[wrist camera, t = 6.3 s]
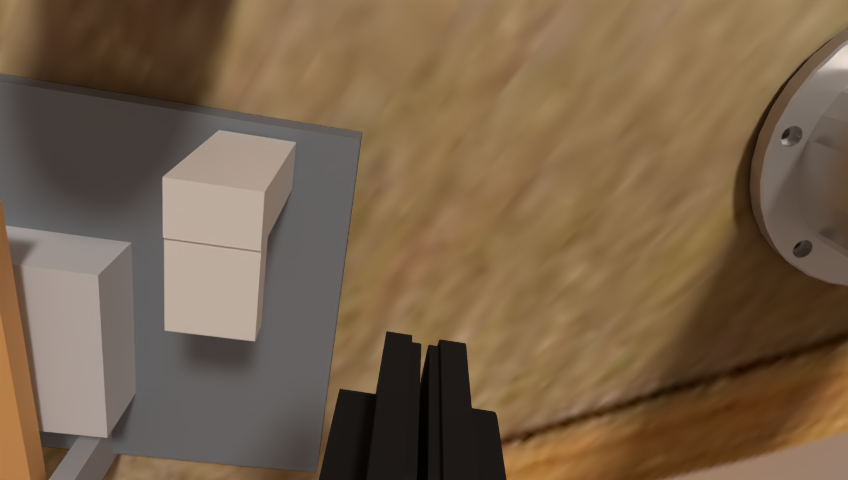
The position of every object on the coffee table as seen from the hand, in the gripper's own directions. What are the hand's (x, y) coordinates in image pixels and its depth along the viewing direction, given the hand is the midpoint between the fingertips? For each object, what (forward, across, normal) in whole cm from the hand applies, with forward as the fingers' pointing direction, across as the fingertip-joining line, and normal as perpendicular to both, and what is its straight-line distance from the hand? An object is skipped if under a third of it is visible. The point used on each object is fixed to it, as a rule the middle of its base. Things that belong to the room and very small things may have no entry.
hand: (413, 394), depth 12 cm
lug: (+13, +7, +2) cm, 14 cm away
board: (+13, +15, +7) cm, 21 cm away
